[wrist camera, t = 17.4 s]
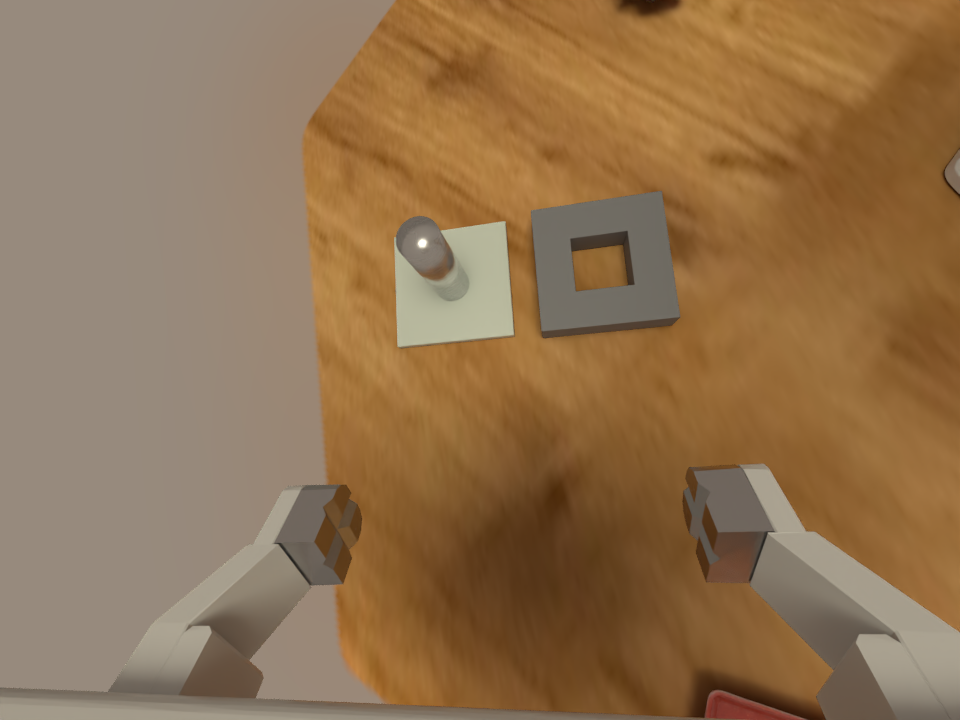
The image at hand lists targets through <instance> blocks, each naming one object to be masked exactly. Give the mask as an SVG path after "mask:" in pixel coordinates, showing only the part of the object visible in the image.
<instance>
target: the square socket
mask: <svg viewBox="0 0 960 720" xmlns="http://www.w3.org/2000/svg"><path fill="white" fill-rule="evenodd" d="M531 218H532V229H533V240H534V251H535V263H536V274H537V285H538V296H539V307H540V318H541V330H542V336H543V338H550V337H560V336H570V335H580V334H590V333H600V332H610V331H620V330H630V329H640V328H650V327H660V326H670V325H673V324H674V323H675V322H676V321H677V320H678V319H679V318H680V312H679V305H678V298H677V292H676V285H675V278H674V271H673V265H672V258H671V251H670V244H669V237H668V231H667V224H666V217H665V210H664V203H663V197H662V191H658V192H651V193H645V194H638V195H631V196H625V197H618V198H611V199H605V200H598V201H591V202H585V203H578V204H571V205H565V206H558V207H551V208H545V209H538V210H532V211H531ZM622 244H623V247H624V255H625V263H626V271H627V278H628V286H619V287H610V288H602V289H593V290H585V291H576V290H575V280H574V271H573V261H572V252H571V251H577V250H584V249H592V248H599V247H607V246H615V245H622Z"/></svg>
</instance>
